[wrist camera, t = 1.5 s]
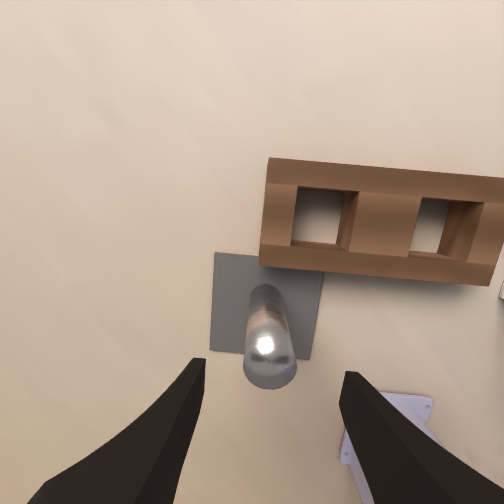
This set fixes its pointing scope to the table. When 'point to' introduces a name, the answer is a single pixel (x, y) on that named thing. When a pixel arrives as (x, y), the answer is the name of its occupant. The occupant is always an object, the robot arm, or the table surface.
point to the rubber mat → (238, 293)
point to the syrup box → (502, 292)
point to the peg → (268, 340)
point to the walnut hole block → (386, 222)
